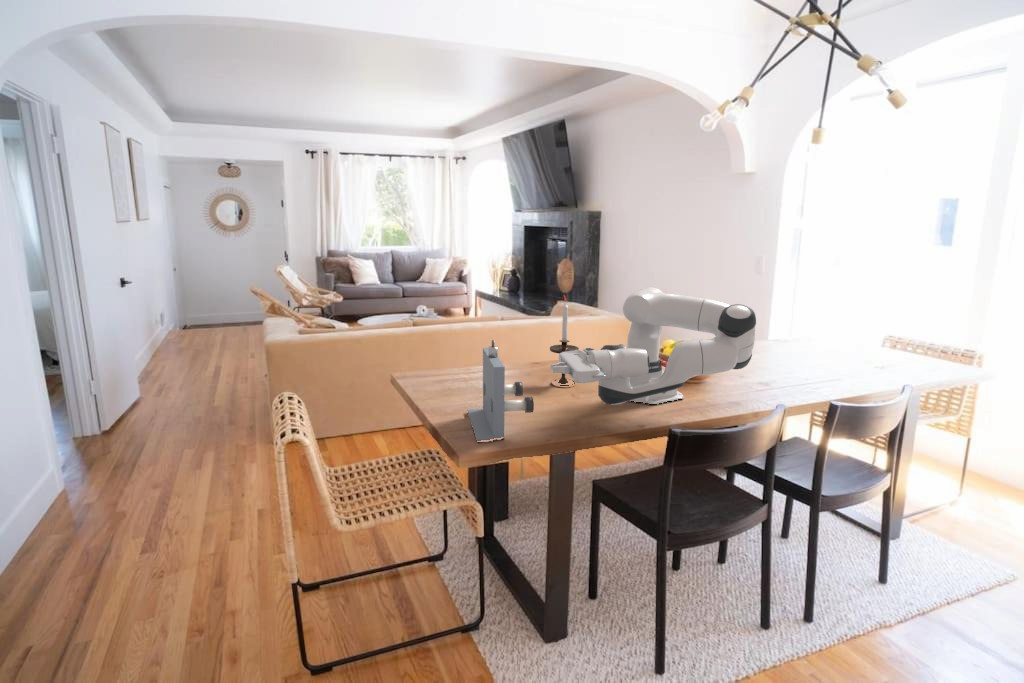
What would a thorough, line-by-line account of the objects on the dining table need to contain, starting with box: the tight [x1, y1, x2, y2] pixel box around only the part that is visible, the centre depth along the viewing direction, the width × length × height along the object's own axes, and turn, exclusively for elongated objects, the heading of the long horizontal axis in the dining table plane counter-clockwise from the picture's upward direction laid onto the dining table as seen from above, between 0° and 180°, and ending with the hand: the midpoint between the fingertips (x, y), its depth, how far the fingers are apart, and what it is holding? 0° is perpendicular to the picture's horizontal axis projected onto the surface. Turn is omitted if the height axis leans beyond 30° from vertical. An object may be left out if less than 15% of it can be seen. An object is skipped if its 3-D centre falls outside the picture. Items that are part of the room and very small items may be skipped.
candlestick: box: [549, 294, 580, 386], centre depth 221 cm, size 11×11×35 cm
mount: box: [467, 347, 506, 442], centre depth 178 cm, size 8×26×22 cm, turn 10°
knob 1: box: [504, 381, 524, 397], centre depth 187 cm, size 10×5×5 cm, turn 100°
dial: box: [487, 339, 499, 358], centre depth 175 cm, size 3×3×5 cm
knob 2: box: [504, 396, 535, 414], centre depth 172 cm, size 10×5×5 cm, turn 100°
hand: (551, 368), depth 170 cm, fingers closed
